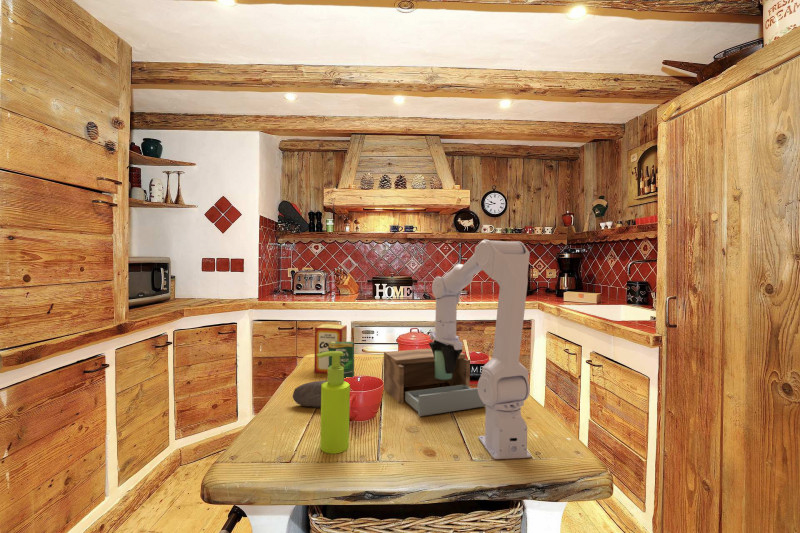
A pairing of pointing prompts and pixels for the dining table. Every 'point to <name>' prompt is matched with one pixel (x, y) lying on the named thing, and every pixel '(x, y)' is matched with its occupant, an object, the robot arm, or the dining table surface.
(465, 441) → the dining table surface
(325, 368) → the red food box
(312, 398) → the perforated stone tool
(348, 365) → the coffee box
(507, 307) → the robot arm
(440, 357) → the sea green cylinder
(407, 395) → the drawer tray
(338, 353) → the soap dispenser
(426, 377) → the wooden drawer box
